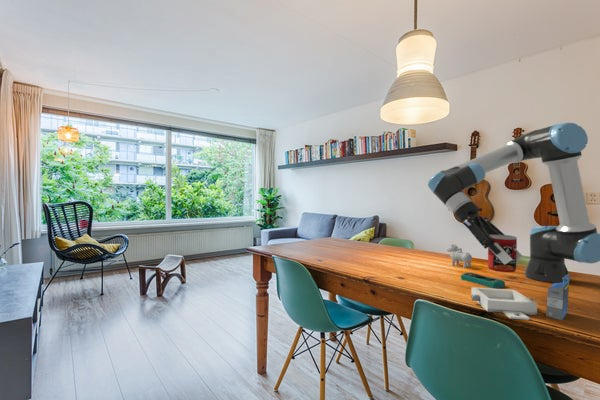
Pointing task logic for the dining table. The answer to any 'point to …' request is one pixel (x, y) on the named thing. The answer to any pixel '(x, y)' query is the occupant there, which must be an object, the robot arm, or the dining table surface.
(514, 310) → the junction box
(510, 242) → the canned food
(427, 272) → the dining table surface
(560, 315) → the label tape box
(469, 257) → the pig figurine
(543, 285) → the dining table surface
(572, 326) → the dining table surface
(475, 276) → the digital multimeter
